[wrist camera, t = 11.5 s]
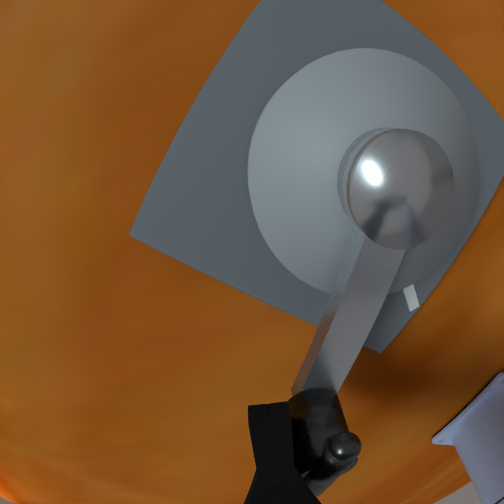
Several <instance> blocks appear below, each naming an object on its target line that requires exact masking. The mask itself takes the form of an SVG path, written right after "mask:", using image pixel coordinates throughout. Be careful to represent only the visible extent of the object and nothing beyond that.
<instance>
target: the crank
mask: <svg viewBox="0 0 504 504" xmlns="http://www.w3.org/2000/svg"><path fill="white" fill-rule="evenodd" d="M337 192H338V197H339V200H340V204H341V206H342V208H343V210H344V212H345V213H346V215H347V216H348V218H349V219H350V220H351V221H352V222H353V223H354V224H355V228H354V231H353V234H352V237H351V240H350V243H349V246H348V249H347V252H346V254H345V257H344V260H343V263H342V266H341V268H340V271H339V274H338V277H337V279H336V282H335V285H334V287H333V290H332V293H331V295H330V298H329V301H328V303H327V306H326V308H325V311H324V313H323V316H322V318H321V321H320V323H319V326H318V328H317V331H316V333H315V336H314V338H313V340H312V343H311V345H310V347H309V350H308V352H307V355H306V357H305V359H304V361H303V364H302V366H301V368H300V371H299V373H298V375H297V377H296V379H295V382H294V384H293V386H292V388H291V391H292V396H293V397H291V398H290V399H289V400H288V406H289V411H290V415H291V421H292V436H293V452H294V465H295V467H296V469H297V470H298V472H299V473H300V475H301V476H302V478H303V480H304V481H305V483H306V484H307V485H308V487H309V488H310V490H311V491H312V492H313V494H314V495H315V496H319V495H320V494H322V493H323V492H324V491H325V490H326V489H327V488H328V487H329V486H330V485H331V484H332V483H333V482H334V481H335V480H336V479H337V478H338V477H339V476H340V475H342V474H344V473H346V472H348V471H349V470H351V469H352V468H353V467H354V466H355V465H356V463H357V461H358V459H357V456H358V455H359V453H360V451H361V441H360V439H359V438H358V436H357V435H355V434H354V433H351V432H349V430H348V426H347V423H346V420H345V417H344V414H343V411H342V408H341V404H340V401H339V398H338V395H337V392H338V390H339V389H340V387H341V385H342V383H343V382H344V380H345V378H346V376H347V374H348V373H349V371H350V369H351V367H352V365H353V363H354V362H355V360H356V358H357V356H358V354H359V352H360V350H361V348H362V346H363V344H364V342H365V340H366V338H367V336H368V334H369V332H370V330H371V328H372V326H373V324H374V322H375V320H376V318H377V316H378V314H379V311H380V309H381V307H382V305H383V303H384V300H385V298H386V296H387V294H388V291H389V289H390V287H391V284H392V282H393V280H394V277H395V275H396V273H397V270H398V268H399V265H400V263H401V260H402V258H403V255H404V253H405V250H406V249H408V248H412V247H415V246H417V245H420V244H422V243H423V242H425V241H427V240H428V239H429V238H430V237H432V236H433V235H434V234H435V233H436V232H437V231H438V229H439V228H440V227H441V226H442V224H443V223H444V221H445V219H446V217H447V215H448V213H449V211H450V208H451V205H452V201H453V195H454V176H453V171H452V167H451V164H450V161H449V159H448V157H447V155H446V153H445V151H444V150H443V149H442V147H441V146H440V145H439V144H438V143H437V142H436V141H435V140H434V139H432V138H431V137H430V136H428V135H426V134H424V133H422V132H419V131H415V130H409V129H400V128H390V127H383V128H376V129H373V130H370V131H368V132H366V133H364V134H362V135H361V136H359V137H358V138H357V139H356V140H355V141H353V143H352V144H351V145H350V146H349V147H348V149H347V150H346V152H345V153H344V156H343V158H342V160H341V162H340V165H339V169H338V174H337Z"/></svg>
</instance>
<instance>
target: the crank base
mask: <svg viewBox="0 0 504 504" xmlns="http://www.w3.org/2000/svg"><path fill="white" fill-rule="evenodd" d="M383 127H390V128H400V129H409V130H415V131H419V132H422V133H424V134H426V135H428V136H430V137H431V138H432V139H434V140H435V141H436V142H437V143H438V144H439V145H440V146H441V147H442V149H443V150H444V151H445V153H446V155H447V157H448V159H449V161H450V164H451V167H452V171H453V176H454V195H453V201H452V205H451V208H450V211H449V213H448V215H447V217H446V219H445V221H444V223H443V224H442V226H441V227H440V228H439V229H438V231H437V232H436V233H435V234H434V235H433V236H432V237H430V238H429V239H428V240H427V241H425V242H423V243H422V244H420V245H417V246H415V247H412V248H408V249H406V250H405V253H404V255H403V258H402V260H401V263H400V265H399V268H398V270H397V273H396V275H395V277H394V280H393V282H392V284H391V287H390V289H389V291H388V294H387V296H386V298H385V300H384V303H383V305H382V307H381V309H380V311H379V314H378V316H377V318H376V320H375V322H374V324H373V326H372V328H371V330H370V332H369V334H368V336H367V338H366V340H365V342H364V344H363V346H364V347H366V348H369V349H371V350H373V351H376V352H378V353H380V354H381V353H382V352H383V351H384V349H385V348H386V347H387V346H388V345H389V344H390V343H391V342H392V340H393V339H394V338H395V337H396V336H397V335H398V333H399V332H400V331H401V330H402V329H403V327H404V326H405V325H406V324H407V323H408V321H409V320H410V319H411V318H412V316H413V315H414V314H415V313H416V311H417V310H418V309H419V308H420V306H421V305H422V304H423V302H424V301H425V300H426V299H427V297H428V296H429V295H430V293H431V292H432V291H433V289H434V288H435V287H436V285H437V284H438V282H439V281H440V280H441V278H442V277H443V275H444V274H445V273H446V271H447V270H448V268H449V267H450V265H451V264H452V262H453V261H454V260H455V258H456V257H457V255H458V254H459V252H460V250H461V249H462V247H463V246H464V244H465V243H466V241H467V240H468V238H469V236H470V235H471V233H472V232H473V230H474V228H475V227H476V225H477V223H478V222H479V220H480V218H481V217H482V215H483V213H484V211H485V210H486V208H487V206H488V204H489V202H490V201H491V199H492V197H493V195H494V193H495V191H496V190H497V188H498V186H499V184H500V182H501V180H502V178H503V176H504V121H503V120H502V119H501V117H500V116H499V115H498V114H497V112H496V111H495V110H494V108H493V107H492V106H491V105H490V103H489V102H488V101H487V100H486V98H485V97H484V96H483V95H482V94H481V92H480V91H479V90H478V89H477V88H476V87H475V86H474V84H473V83H472V82H471V81H470V80H469V79H468V78H467V77H466V76H465V74H464V73H463V72H462V71H461V70H460V69H459V68H458V67H457V66H456V65H455V64H454V63H453V62H452V61H451V60H450V59H449V58H448V57H447V56H446V55H445V54H444V53H443V52H442V51H441V50H440V49H439V48H438V47H437V46H436V45H435V44H434V43H432V42H431V41H430V40H429V39H428V38H427V37H426V36H425V35H424V34H422V33H421V32H420V31H419V30H418V29H417V28H416V27H414V26H413V25H412V24H411V23H410V22H408V21H407V20H406V19H405V18H403V17H402V16H401V15H400V14H398V13H397V12H396V11H394V10H393V9H392V8H391V7H389V6H388V5H387V4H385V3H384V2H382V1H381V0H261V1H260V2H259V3H258V5H257V6H256V7H255V9H254V10H253V12H252V13H251V14H250V16H249V17H248V19H247V20H246V21H245V23H244V24H243V26H242V27H241V28H240V30H239V31H238V33H237V34H236V36H235V37H234V39H233V40H232V42H231V43H230V45H229V46H228V48H227V49H226V51H225V52H224V54H223V55H222V57H221V58H220V60H219V62H218V63H217V65H216V66H215V68H214V70H213V71H212V73H211V74H210V76H209V78H208V79H207V81H206V83H205V84H204V86H203V88H202V89H201V91H200V93H199V94H198V96H197V98H196V100H195V101H194V103H193V105H192V107H191V108H190V110H189V112H188V114H187V115H186V117H185V119H184V121H183V123H182V125H181V126H180V128H179V130H178V132H177V134H176V136H175V138H174V139H173V141H172V143H171V145H170V147H169V149H168V151H167V153H166V155H165V157H164V159H163V161H162V163H161V165H160V167H159V169H158V171H157V173H156V175H155V177H154V179H153V182H152V184H151V186H150V188H149V190H148V192H147V194H146V197H145V199H144V201H143V203H142V206H141V208H140V210H139V212H138V215H137V217H136V219H135V222H134V224H133V226H132V229H131V231H130V233H129V235H130V236H131V237H133V238H135V239H137V240H139V241H141V242H143V243H145V244H147V245H149V246H151V247H153V248H155V249H157V250H159V251H161V252H163V253H165V254H167V255H169V256H170V257H172V258H174V259H176V260H178V261H180V262H182V263H184V264H186V265H188V266H190V267H192V268H195V269H197V270H199V271H201V272H203V273H205V274H207V275H209V276H211V277H213V278H215V279H217V280H219V281H221V282H223V283H225V284H227V285H229V286H231V287H234V288H236V289H238V290H240V291H242V292H244V293H246V294H248V295H250V296H253V297H255V298H257V299H259V300H261V301H263V302H265V303H267V304H270V305H272V306H274V307H276V308H278V309H280V310H283V311H285V312H287V313H289V314H291V315H294V316H296V317H298V318H300V319H302V320H305V321H307V322H309V323H311V324H314V325H316V326H319V323H320V321H321V318H322V316H323V313H324V311H325V308H326V306H327V303H328V301H329V298H330V295H331V293H332V290H333V287H334V285H335V282H336V279H337V277H338V274H339V271H340V268H341V266H342V263H343V260H344V257H345V254H346V252H347V249H348V246H349V243H350V240H351V237H352V234H353V231H354V228H355V224H354V223H353V222H352V221H351V220H350V219H349V218H348V216H347V215H346V213H345V212H344V210H343V208H342V206H341V204H340V200H339V197H338V192H337V174H338V169H339V165H340V162H341V160H342V158H343V156H344V153H345V152H346V150H347V149H348V147H349V146H350V145H351V144H352V143H353V141H355V140H356V139H357V138H358V137H359V136H361V135H362V134H364V133H366V132H368V131H370V130H373V129H376V128H383Z"/></svg>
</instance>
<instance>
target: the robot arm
mask: <svg viewBox="0 0 504 504" xmlns="http://www.w3.org/2000/svg"><path fill="white" fill-rule="evenodd" d="M248 422H249V430H250V436H251V441H252V447H253V452H254V458H255V463H256V472H255V475H254V478H253V481H252V484H251V487H250V490H249V492H248V495H247V497H246V500H245V502H244V504H321V503H320V502H319V500H318V499H317V498H316V496H315V495H314V494H313V492H312V491H311V490H310V488H309V487H308V485H307V484H306V483H305V481H304V480H303V478H302V476H301V475H300V473H299V472H298V470H297V469H296V467H295V465H294V452H293V436H292V421H291V415H290V411H289V406H288V402H287V401H286V402H278V403H270V404H260V405H250V406H248ZM432 443H433V444H443V445H454V446H455V448H456V450H457V452H458V454H459V456H460V458H461V460H462V462H463V464H464V466H465V468H466V470H467V472H468V474H469V477H470V479H471V481H472V483H473V485H474V487H475V489H476V491H477V494H478V496H479V498H480V500H481V503H482V504H504V373H503V372H501V373H499V374H498V375H497V376H496V377H495V378H494V379H493V380H492V381H491V383H490V384H489V385H488V386H487V387H486V388H485V389H484V390H483V391H482V392H481V393H480V394H479V395H478V396H477V397H476V398H475V399H474V400H473V401H472V402H471V403H470V404H469V405H468V406H467V407H466V408H465V409H464V410H463V411H462V412H461V413H460V414H459V415H458V416H457V417H456V418H455V419H454V420H453V421H451V422H450V423H449V424H448V425H447V426H446V427H445V428H444V429H442V430H441V431H440V432H439V433H438V434H437V435H435V436H434V437H433V438H432Z"/></svg>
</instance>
